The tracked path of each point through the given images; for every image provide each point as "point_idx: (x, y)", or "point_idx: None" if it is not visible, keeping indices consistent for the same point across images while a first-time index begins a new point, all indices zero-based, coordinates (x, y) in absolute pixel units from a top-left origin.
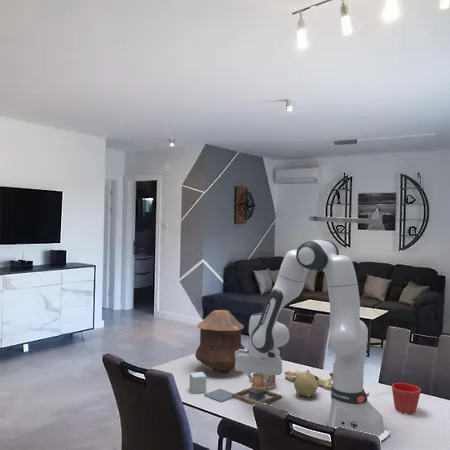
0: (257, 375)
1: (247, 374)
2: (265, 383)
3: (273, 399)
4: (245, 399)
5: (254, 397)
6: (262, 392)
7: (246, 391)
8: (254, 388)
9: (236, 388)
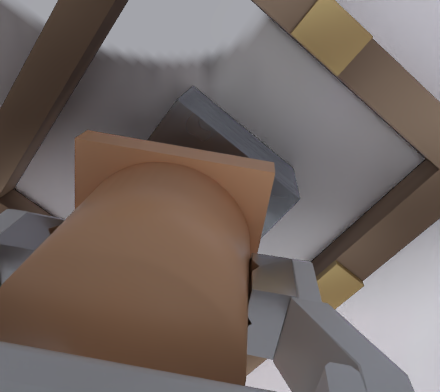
0: (126, 324)
1: (390, 373)
2: (24, 212)
3: (11, 90)
4: (349, 15)
5: (229, 123)
6: None
7: (315, 274)
8: None
9: (399, 367)
